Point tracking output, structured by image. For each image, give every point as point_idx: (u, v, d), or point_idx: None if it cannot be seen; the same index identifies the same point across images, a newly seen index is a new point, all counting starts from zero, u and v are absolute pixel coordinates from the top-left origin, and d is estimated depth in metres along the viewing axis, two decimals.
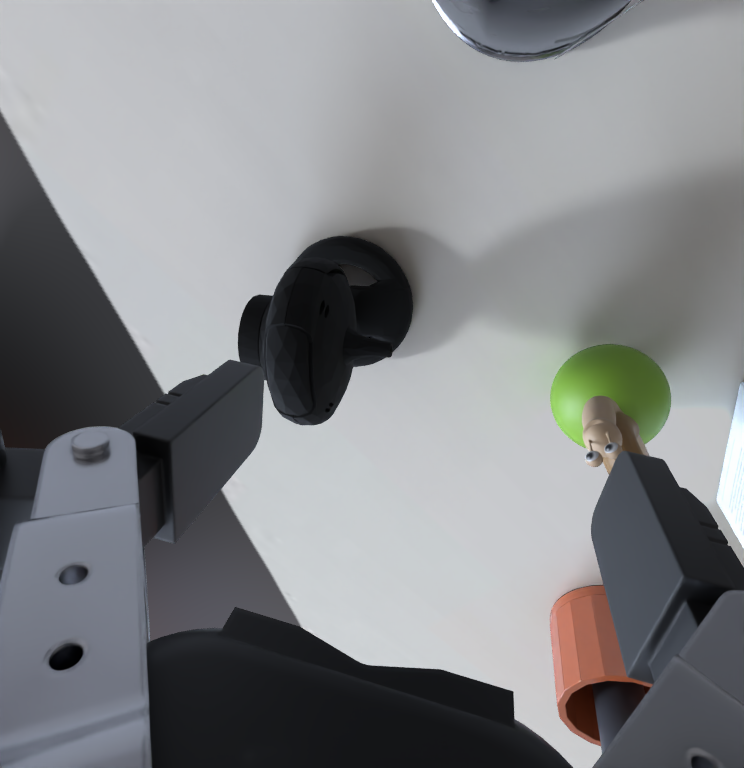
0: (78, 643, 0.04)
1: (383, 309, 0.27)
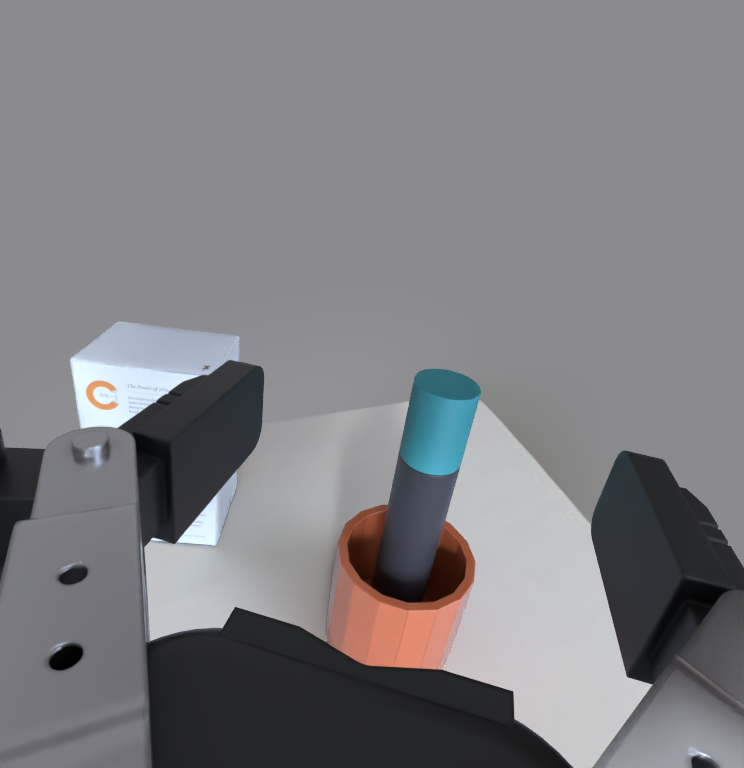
0: (78, 643, 0.04)
1: None
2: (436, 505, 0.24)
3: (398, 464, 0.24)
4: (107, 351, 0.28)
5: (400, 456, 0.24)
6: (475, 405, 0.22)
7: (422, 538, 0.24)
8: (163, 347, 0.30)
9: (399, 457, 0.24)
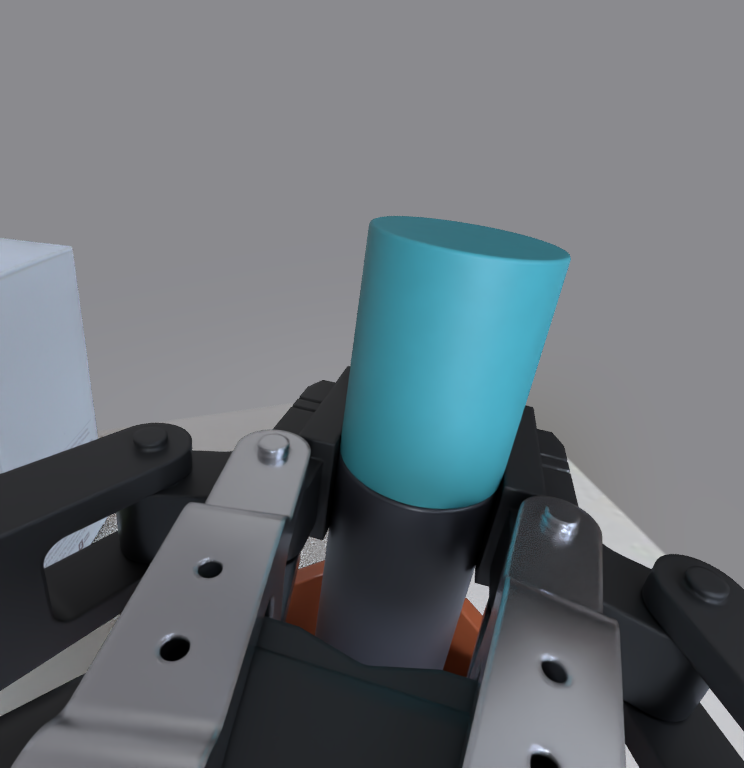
0: (189, 639, 0.04)
1: None
2: (440, 588, 0.09)
3: (337, 478, 0.09)
4: None
5: (341, 457, 0.09)
6: (557, 292, 0.07)
7: (402, 666, 0.10)
8: None
9: (339, 460, 0.09)
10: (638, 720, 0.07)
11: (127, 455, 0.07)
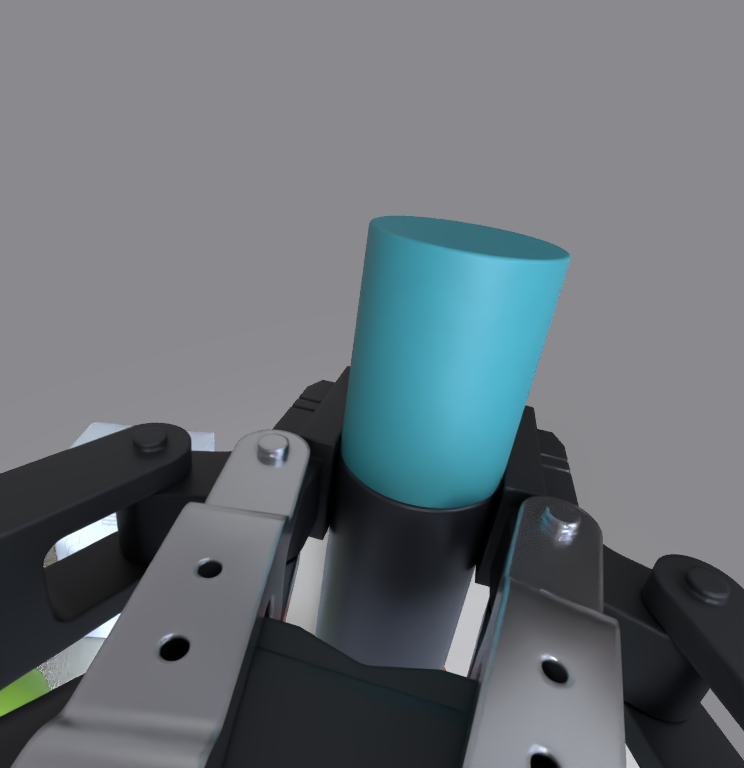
0: (189, 639, 0.04)
1: None
2: (440, 588, 0.09)
3: (337, 478, 0.09)
4: None
5: (341, 456, 0.09)
6: (557, 291, 0.07)
7: (403, 666, 0.10)
8: None
9: (339, 459, 0.09)
10: (638, 720, 0.07)
11: (126, 455, 0.07)
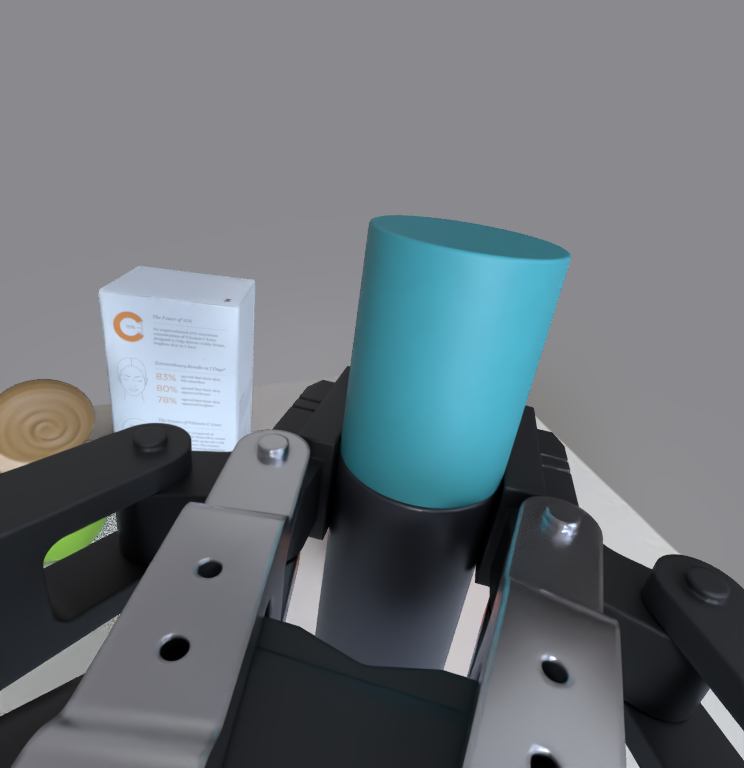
0: (189, 639, 0.04)
1: None
2: (440, 588, 0.09)
3: (337, 478, 0.09)
4: (133, 286, 0.30)
5: (341, 456, 0.09)
6: (558, 291, 0.07)
7: (403, 666, 0.10)
8: (185, 284, 0.31)
9: (339, 459, 0.09)
10: (638, 721, 0.07)
11: (127, 454, 0.07)
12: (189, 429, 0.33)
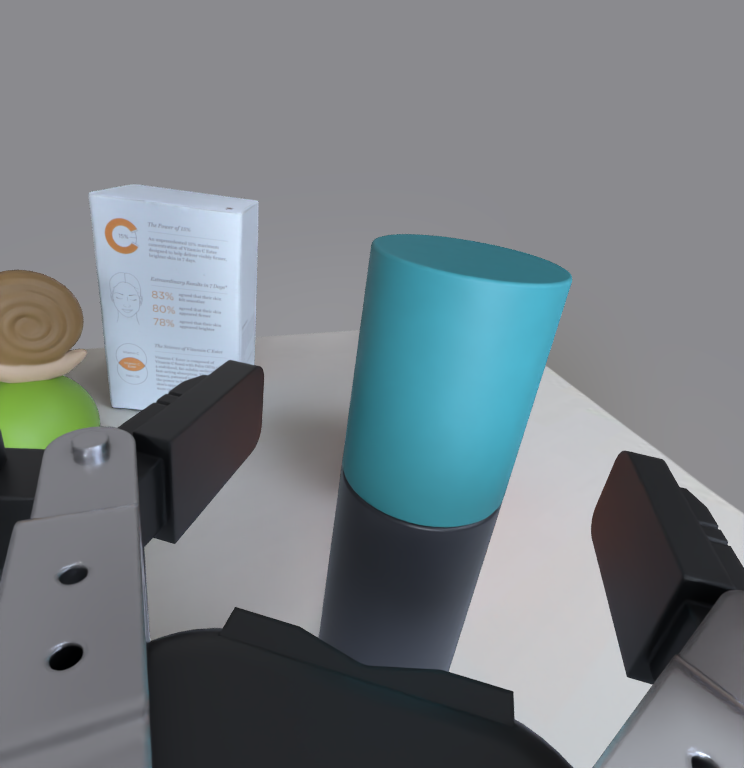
0: (78, 643, 0.04)
1: None
2: (442, 604, 0.09)
3: (339, 494, 0.09)
4: (126, 193, 0.27)
5: (343, 473, 0.09)
6: (559, 313, 0.07)
7: None
8: (183, 196, 0.29)
9: (341, 476, 0.09)
10: None
11: None
12: (188, 357, 0.30)
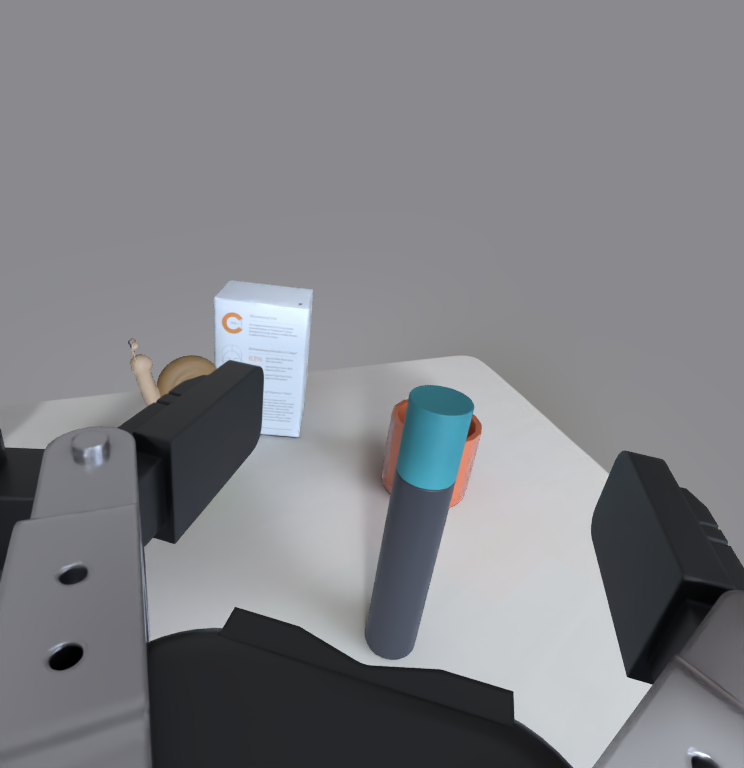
0: (78, 643, 0.04)
1: None
2: (433, 519, 0.24)
3: (395, 479, 0.24)
4: (234, 294, 0.43)
5: (397, 471, 0.24)
6: (469, 420, 0.22)
7: (419, 552, 0.25)
8: (268, 293, 0.44)
9: (396, 472, 0.24)
10: None
11: None
12: (269, 397, 0.45)
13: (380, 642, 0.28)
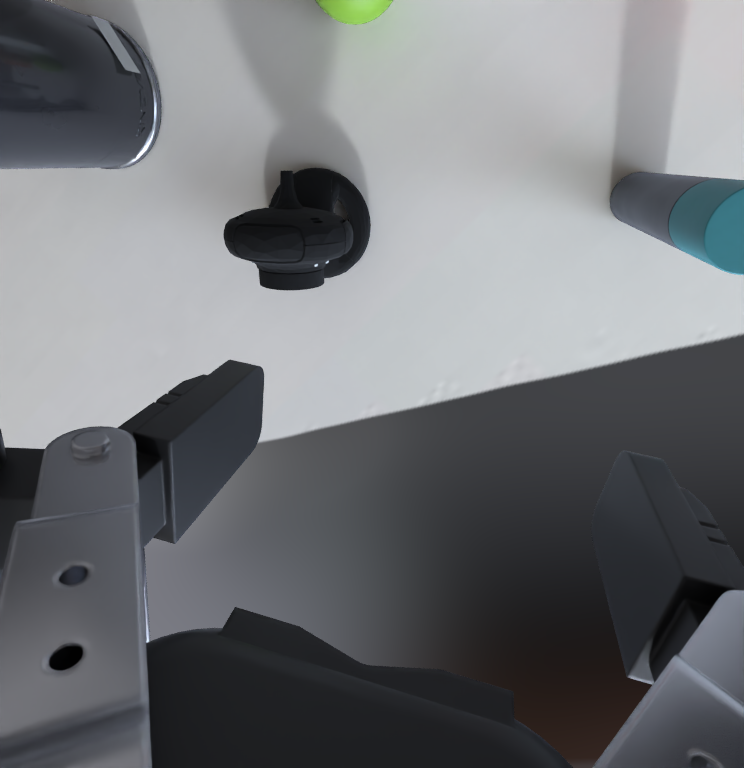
0: (78, 643, 0.04)
1: (309, 190, 0.34)
2: None
3: (664, 226, 0.21)
4: None
5: (668, 227, 0.21)
6: None
7: None
8: None
9: (667, 224, 0.21)
10: None
11: None
12: None
13: None
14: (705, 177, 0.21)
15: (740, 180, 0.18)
